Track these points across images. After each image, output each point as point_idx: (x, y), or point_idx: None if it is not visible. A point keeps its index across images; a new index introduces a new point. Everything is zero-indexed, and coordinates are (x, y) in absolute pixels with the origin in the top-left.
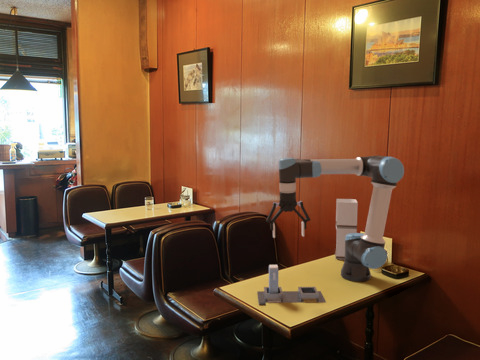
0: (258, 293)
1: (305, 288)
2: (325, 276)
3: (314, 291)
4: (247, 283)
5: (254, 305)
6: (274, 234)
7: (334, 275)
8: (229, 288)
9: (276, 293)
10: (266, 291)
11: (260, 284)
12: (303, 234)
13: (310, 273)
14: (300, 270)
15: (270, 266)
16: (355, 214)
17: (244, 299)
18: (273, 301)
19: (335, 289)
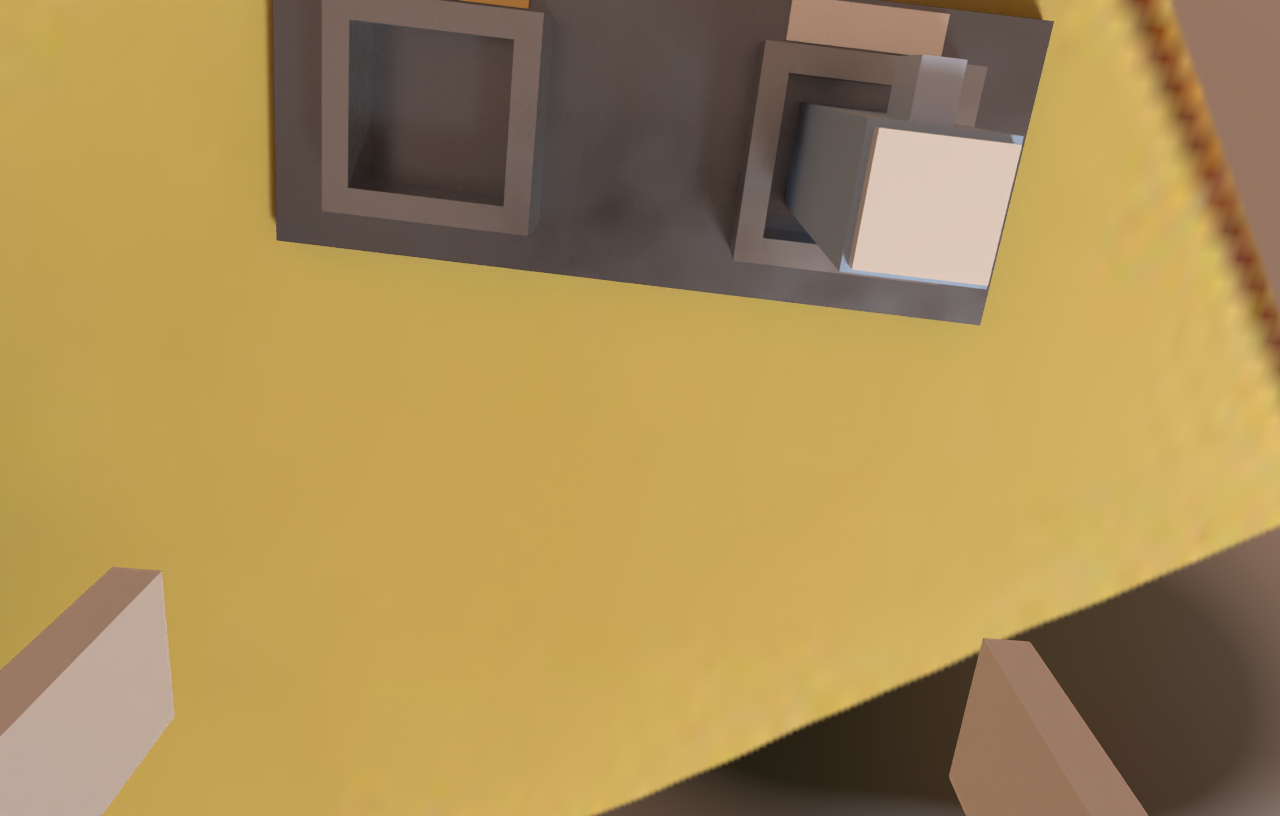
0: None
1: (447, 198)
2: None
3: (355, 122)
4: (1004, 576)
5: (1096, 12)
6: (1040, 700)
7: None
8: (1232, 482)
9: (842, 70)
10: None
11: (875, 534)
12: (103, 601)
13: (292, 720)
14: (379, 800)
15: (996, 197)
16: None
17: (1159, 185)
18: (879, 18)
19: (106, 308)
